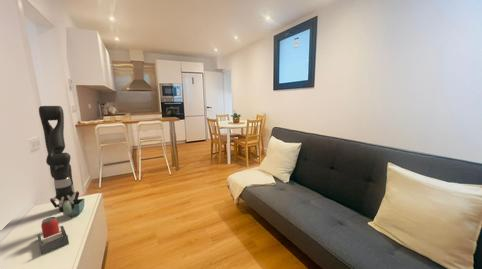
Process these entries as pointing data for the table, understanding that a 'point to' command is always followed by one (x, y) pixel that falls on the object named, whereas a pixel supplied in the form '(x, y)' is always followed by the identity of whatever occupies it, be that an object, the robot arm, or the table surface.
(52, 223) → the beer can
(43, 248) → the lane
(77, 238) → the table surface
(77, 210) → the flower pot
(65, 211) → the jar
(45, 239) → the pusher
